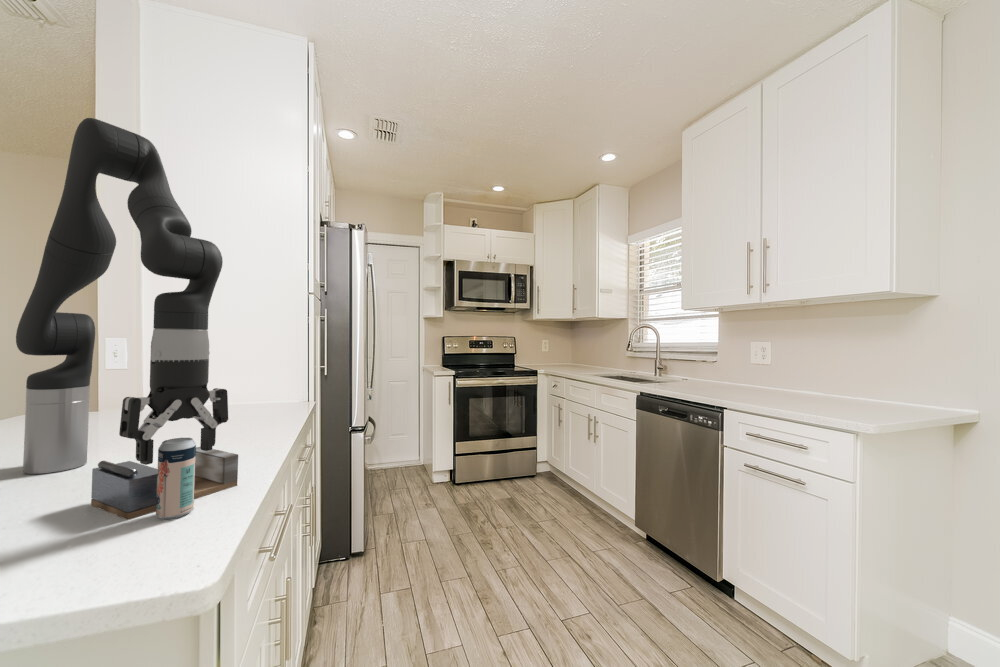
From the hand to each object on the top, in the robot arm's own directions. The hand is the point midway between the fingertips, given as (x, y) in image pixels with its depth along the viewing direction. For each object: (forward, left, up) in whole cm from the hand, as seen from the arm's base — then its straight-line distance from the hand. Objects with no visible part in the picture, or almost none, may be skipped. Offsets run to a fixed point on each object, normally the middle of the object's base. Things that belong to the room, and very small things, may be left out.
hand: (177, 456), depth 66 cm
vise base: (-10, +4, -9) cm, 14 cm away
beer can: (0, 0, -10) cm, 10 cm away
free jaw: (-10, -2, -8) cm, 13 cm away
